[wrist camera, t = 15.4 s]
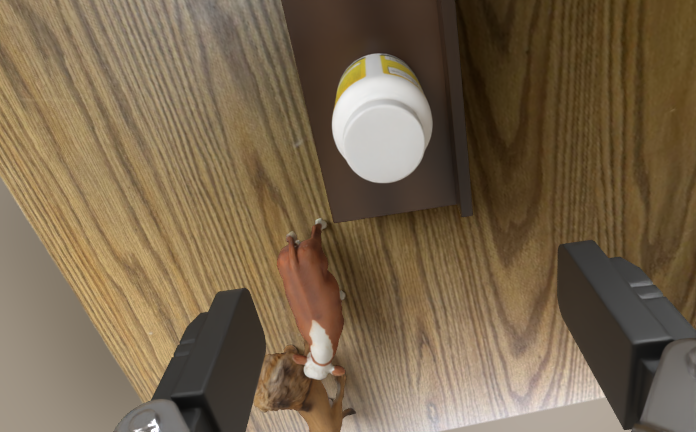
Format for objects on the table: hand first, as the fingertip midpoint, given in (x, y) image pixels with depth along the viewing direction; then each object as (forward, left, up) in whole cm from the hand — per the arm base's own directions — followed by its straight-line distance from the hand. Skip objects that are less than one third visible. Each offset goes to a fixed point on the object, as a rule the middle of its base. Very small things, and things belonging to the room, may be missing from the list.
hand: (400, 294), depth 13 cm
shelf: (0, 0, -26) cm, 26 cm away
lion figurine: (-11, -27, -26) cm, 39 cm away
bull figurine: (-8, -16, -26) cm, 32 cm away
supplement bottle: (0, 0, -22) cm, 22 cm away
